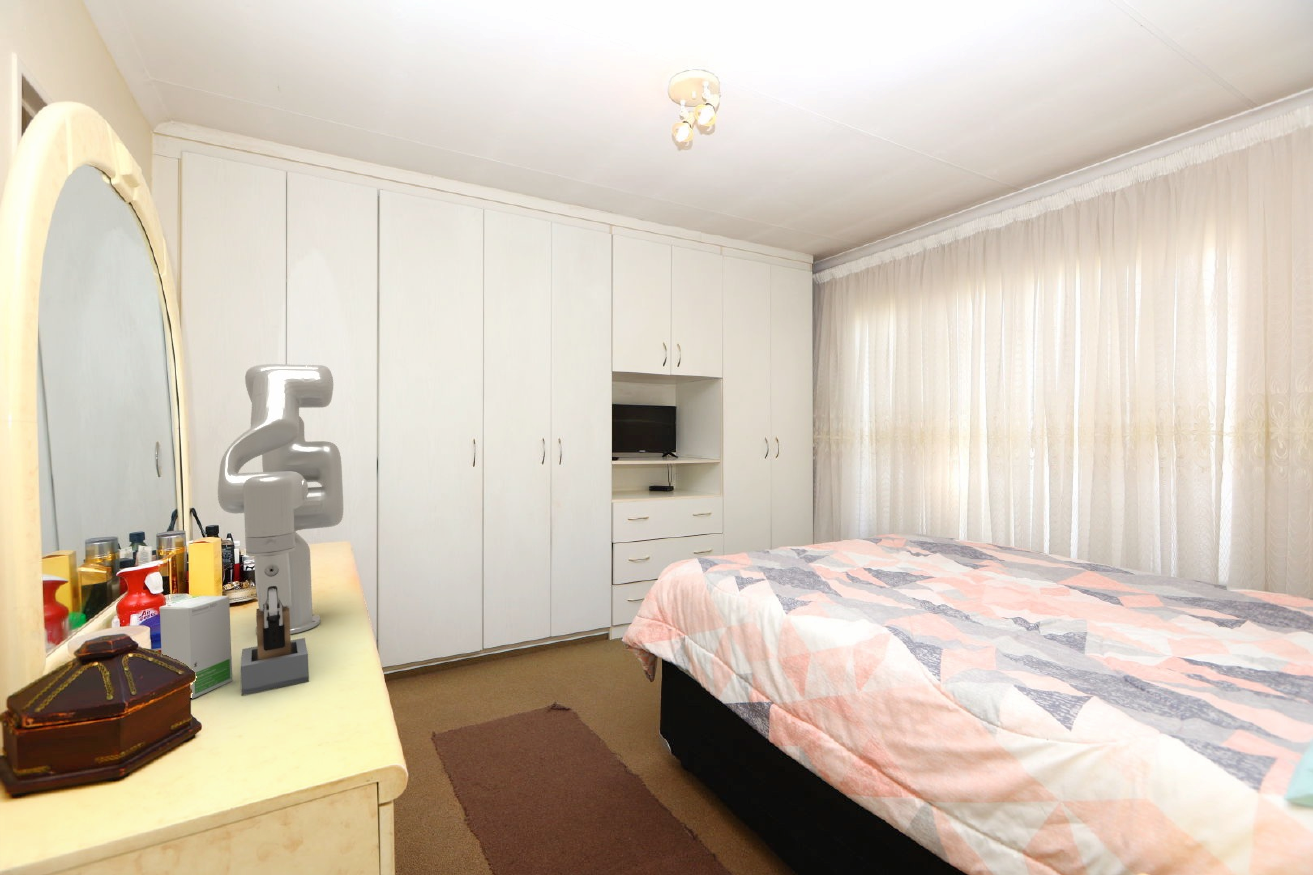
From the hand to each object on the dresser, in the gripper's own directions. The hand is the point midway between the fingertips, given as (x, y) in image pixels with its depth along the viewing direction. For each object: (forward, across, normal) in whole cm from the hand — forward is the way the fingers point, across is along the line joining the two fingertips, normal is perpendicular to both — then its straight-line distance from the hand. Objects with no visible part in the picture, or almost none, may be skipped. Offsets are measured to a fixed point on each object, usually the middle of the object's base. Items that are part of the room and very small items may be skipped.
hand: (274, 642), depth 112 cm
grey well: (+7, 0, 0) cm, 7 cm away
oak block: (+4, 0, 0) cm, 4 cm away
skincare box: (+7, +3, +12) cm, 14 cm away
